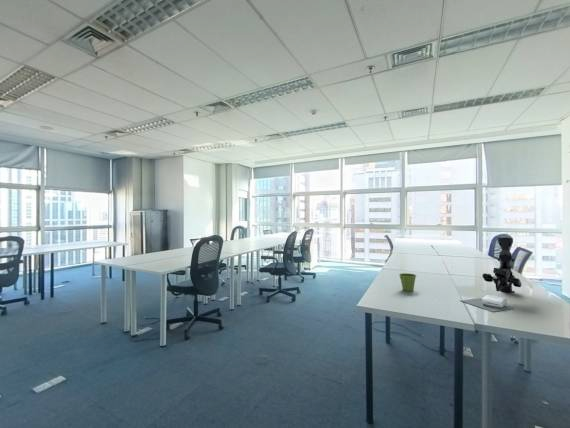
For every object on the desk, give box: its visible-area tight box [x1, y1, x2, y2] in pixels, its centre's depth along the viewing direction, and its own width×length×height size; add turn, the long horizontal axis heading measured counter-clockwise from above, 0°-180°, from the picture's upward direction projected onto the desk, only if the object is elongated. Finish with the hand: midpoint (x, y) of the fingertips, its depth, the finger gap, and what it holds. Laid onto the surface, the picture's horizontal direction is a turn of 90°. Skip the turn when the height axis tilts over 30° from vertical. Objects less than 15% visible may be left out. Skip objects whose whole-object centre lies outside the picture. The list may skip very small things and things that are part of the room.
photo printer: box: [481, 294, 508, 308], centre depth 156 cm, size 10×4×12 cm
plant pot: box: [398, 272, 417, 292], centre depth 191 cm, size 12×12×11 cm
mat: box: [460, 297, 515, 313], centre depth 158 cm, size 16×20×1 cm
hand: (497, 290), depth 162 cm, fingers closed
